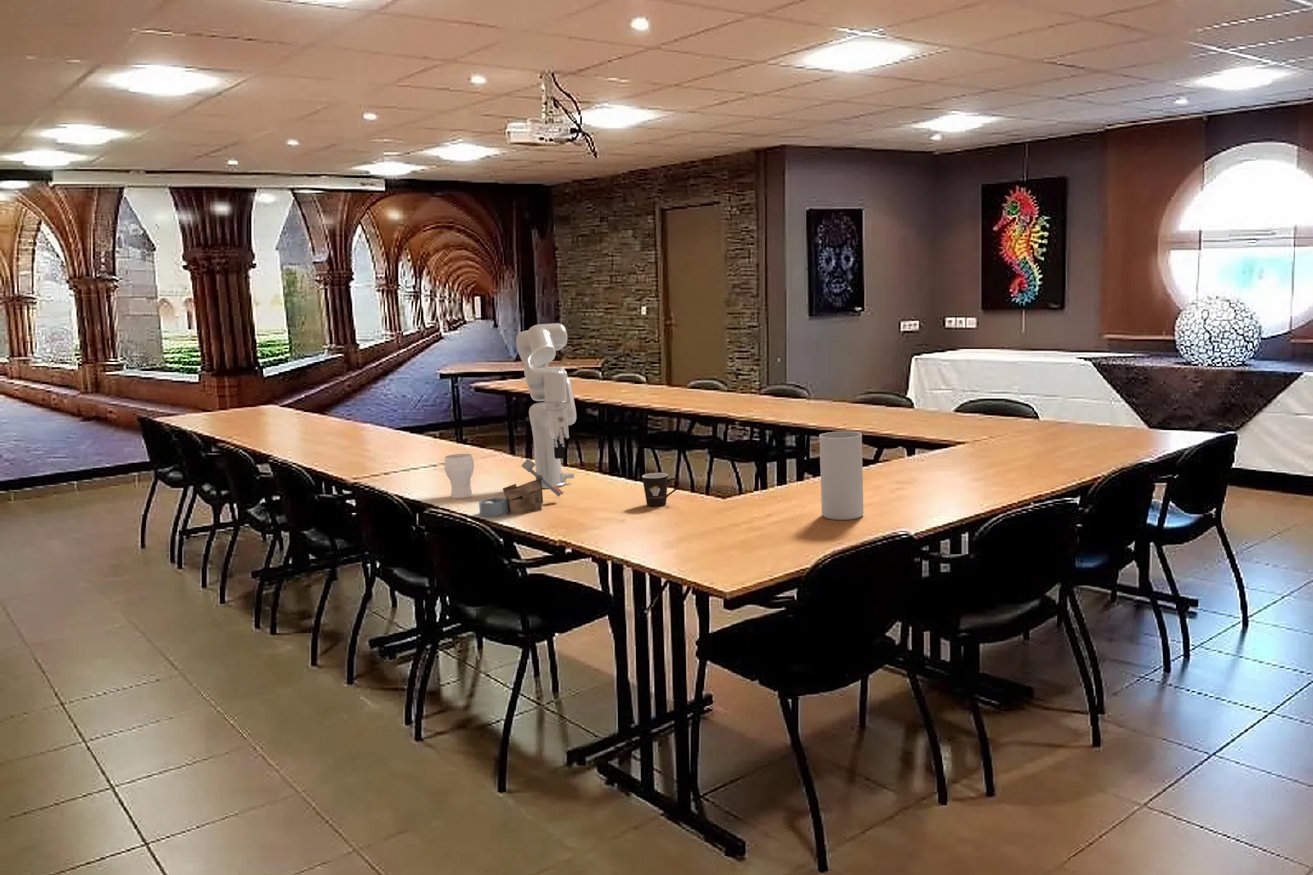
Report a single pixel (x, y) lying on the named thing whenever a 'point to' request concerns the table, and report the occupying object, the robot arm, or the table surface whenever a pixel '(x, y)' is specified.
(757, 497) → the table surface
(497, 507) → the pot
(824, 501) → the cylinder vase
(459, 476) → the cup
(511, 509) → the cardboard box
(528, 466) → the lever
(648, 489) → the coffee mug
